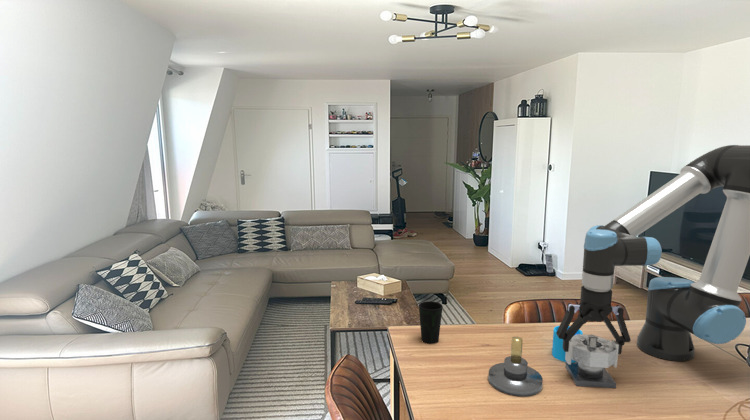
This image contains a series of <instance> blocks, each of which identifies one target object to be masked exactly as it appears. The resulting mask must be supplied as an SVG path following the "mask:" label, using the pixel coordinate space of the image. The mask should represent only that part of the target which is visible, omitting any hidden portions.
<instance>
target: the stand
mask: <svg viewBox="0 0 750 420" xmlns="http://www.w3.org/2000/svg"><path fill="white" fill-rule="evenodd" d="M587 335H588V341H587V346H589V347H596V348H597V339H598V337H599V336H598V337H597V335H595V334H587ZM565 369H566V371H567V373H568V374H569V376H570V377H571V379H572V380H573V383H574V384H575V386H577V387H586V388H587V387H589V388H604V389H605V388H606V389H617V382H616V381H615V380H614V378H613V377H612V376H611V374H610V373H609V371H608V370H607V368H603V367H589V366H586V365H584V364H581V363H579V362H575V363H571V365H570V364H568V363H567V362H565Z"/></svg>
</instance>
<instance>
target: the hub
mask: <svg viewBox="0 0 750 420" xmlns="http://www.w3.org/2000/svg"><path fill="white" fill-rule="evenodd" d="M523 341H524V339H523V337H520V336H512V337H511V341H510V342H511V344H510V345H511V346H510V356H506V357H505V358H504V361H503V362H499V363H496V364H493V365H492V366H490V368H488V378H487V379H488V382H489V384H490V385H491V386H492V388H494V389H495V390H497V391H498V392H500V393H503V394H505V395H509V396H514V397H522V398H523V397H532V396H535V395H538V394H539V393H540V392H541V391H542V389H543V381H544V380H543V376H542V374H541V373H540V372H539V371H537V370H536V369H535V368H533V367H532V366H531V367H530V366H529V365H528V361H527V360H526V359H525V358H523V356H522V354H523Z"/></svg>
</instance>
